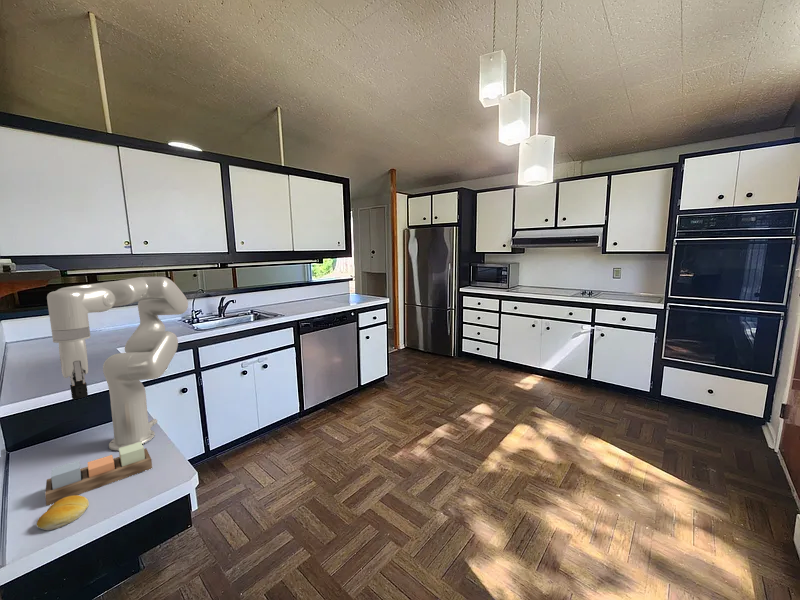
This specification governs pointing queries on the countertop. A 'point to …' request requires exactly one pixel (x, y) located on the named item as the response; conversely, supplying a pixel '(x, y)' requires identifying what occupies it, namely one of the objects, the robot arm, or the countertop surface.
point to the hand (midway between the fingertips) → (80, 397)
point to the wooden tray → (96, 479)
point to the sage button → (131, 454)
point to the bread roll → (63, 512)
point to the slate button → (66, 474)
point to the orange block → (101, 466)
